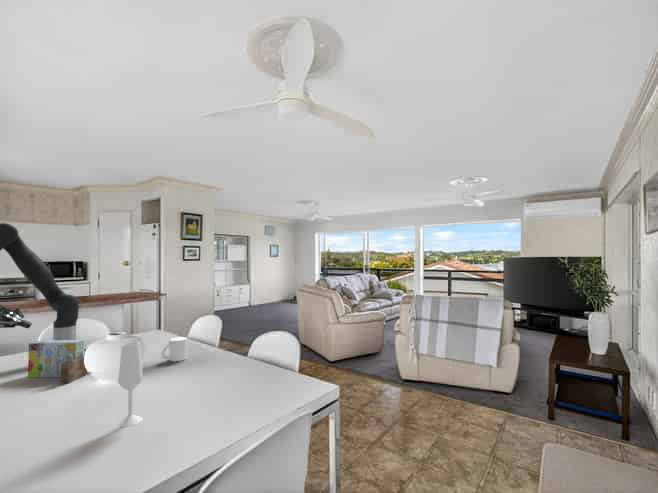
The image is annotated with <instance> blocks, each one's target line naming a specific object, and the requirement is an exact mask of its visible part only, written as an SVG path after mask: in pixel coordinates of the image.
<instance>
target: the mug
mask: <svg viewBox="0 0 658 493" xmlns="http://www.w3.org/2000/svg"><path fill="white" fill-rule="evenodd" d="M166 350H168V354H169V355H166ZM161 356H162V358H163V359H164V360H169V362H171V361H173V362H172V363H177V362H176V361H179V362H183V361H185V359H186V360H187V359H188V338H187V337H186V336H185V337H184V336H178V337H172V338H170V339H169V340H168V343H167V344H166V345H165V346H164V348H163V350H162V351H161ZM182 360H183V361H182Z"/></svg>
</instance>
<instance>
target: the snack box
mask: <svg viewBox="0 0 658 493" xmlns="http://www.w3.org/2000/svg"><path fill="white" fill-rule="evenodd" d="M84 341H85V340H84V339H77V340H53V339H52V340H36V341H32V342H29V343H28V359H27V360H28V363H27V364H28V365H27V367H28V368H27V369H28V370H27V377H28V378H61V364H63V363H65V362H67V355H69V354H73V359H76V358H78V357H81V356H83V355H84V344H85V342H84Z"/></svg>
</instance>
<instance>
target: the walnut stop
mask: <svg viewBox="0 0 658 493" xmlns="http://www.w3.org/2000/svg"><path fill="white" fill-rule="evenodd" d="M87 348H88V347H86V348H83V356H81V357H78V358H76V359H73V354H69V355H67V362H65V363H63V364H61V377H60V384H61V383H64V384H66V385H67V384H70V383H73V382H75V381H77V380H79V379H81V378H83V377H85V376H88V375H90V374H89V373H88V372H87V370H86V368H85V365H84V355H85V351H86V349H87Z"/></svg>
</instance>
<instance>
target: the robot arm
mask: <svg viewBox="0 0 658 493" xmlns="http://www.w3.org/2000/svg"><path fill="white" fill-rule="evenodd" d="M2 250H4V251H5V252H6V253H8V255H9V256H10V258H11V260H12V261H13V262H14V265H16V267H17V268H18V270H19V271H20V272H21V273H22V274H23V276H24V277H26V279H27V280H28V281H29V282H30V283H31V284H32V285H33V287H35V289H37V290H38V291H39V292H40V293H41V295H42V296H43V297H44V299H45V300H46V301H47V303H48V304H49V305H50V307H51V309H52V310H54V312H56V319H55V320H54V321H53V323H52V324H53V326H52V327H53V331H52V332H53V333H52V334H53V336H52V337H53V338H52V341H53V340H78V339H77V321H78V319H79V307H80V306H79V305H80V304H79V300H78V298H77V297H76V296H75V295H72V294H67V293H65V292H64V290H62V289H61V288H60V287H59V285H58V283H56V282H57V281H56V280H55V277H54V275H53V272H52V271H51V269H50V267H49V266H47V264H46V263H45V262H44V261H43V259H42V258H41V257H39V255H37V254H36V253H35V252H34V251H33V250H32V249H30V247H28V245H26V243H25V242H24V240H23V239H22V238H21V236H20V234H19V231H18V229H17V227H15V226H14V225H12V224H9V223H5V222H0V251H2ZM5 307H6V306H5V305H3V304H0V329H1V328H3V329H5V328H6V329H8V328H13V329H14V328H15V327H22V328H24V329H29V328H31V326H32V325H33V323H32V322H31V321H29V320H25V319H24V318H25V315H24V314H23V312H22V311H21V309H19V308H15V309H13V310H12V309H10V308H9V309H8V308H5Z"/></svg>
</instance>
